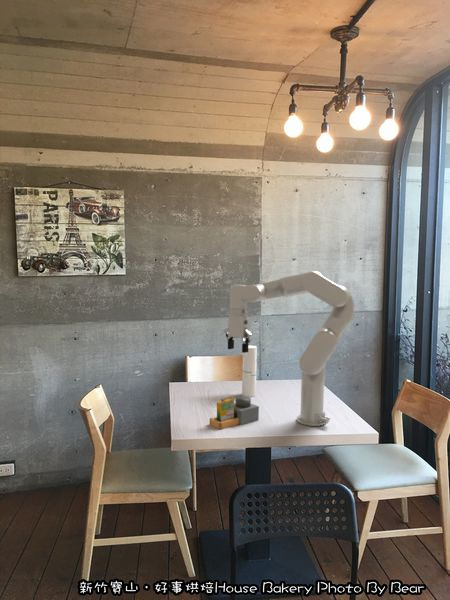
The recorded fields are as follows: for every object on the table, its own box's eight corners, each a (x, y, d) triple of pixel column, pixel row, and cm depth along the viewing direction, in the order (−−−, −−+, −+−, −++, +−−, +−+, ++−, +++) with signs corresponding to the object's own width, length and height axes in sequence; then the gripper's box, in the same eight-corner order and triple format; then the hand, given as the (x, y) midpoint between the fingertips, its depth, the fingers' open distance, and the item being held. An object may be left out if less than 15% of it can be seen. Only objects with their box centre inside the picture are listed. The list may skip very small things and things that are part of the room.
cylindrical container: (241, 392, 234) (242, 345, 232) (254, 392, 234) (255, 345, 232) (242, 397, 227) (243, 348, 225) (256, 396, 227) (257, 348, 225)
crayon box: (229, 421, 192) (230, 394, 191) (234, 423, 189) (234, 396, 188) (216, 425, 187) (216, 397, 186) (220, 427, 185) (221, 399, 184)
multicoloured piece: (258, 420, 194) (258, 399, 193) (222, 430, 181) (222, 408, 180) (242, 413, 201) (243, 394, 200) (207, 423, 189) (207, 402, 188)
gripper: (258, 313, 195) (257, 352, 196) (232, 310, 208) (231, 346, 210) (245, 314, 190) (244, 354, 192) (219, 311, 204) (219, 348, 205)
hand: (237, 350), depth 201 cm, fingers open, 9 cm apart
